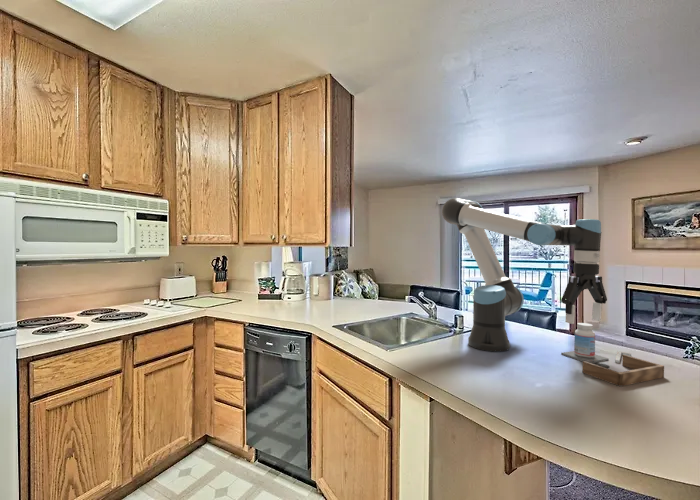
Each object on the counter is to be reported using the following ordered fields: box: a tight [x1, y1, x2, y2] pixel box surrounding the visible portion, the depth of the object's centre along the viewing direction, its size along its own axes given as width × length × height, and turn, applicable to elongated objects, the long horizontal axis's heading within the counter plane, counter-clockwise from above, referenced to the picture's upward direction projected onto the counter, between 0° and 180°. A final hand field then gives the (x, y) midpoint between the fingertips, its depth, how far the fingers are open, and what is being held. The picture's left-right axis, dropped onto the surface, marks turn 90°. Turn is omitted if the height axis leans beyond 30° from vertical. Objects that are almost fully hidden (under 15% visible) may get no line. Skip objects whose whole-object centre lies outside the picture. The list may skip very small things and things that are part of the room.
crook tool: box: [614, 350, 632, 364], centre depth 120 cm, size 4×13×1 cm, turn 139°
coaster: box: [560, 350, 610, 364], centre depth 122 cm, size 10×10×1 cm
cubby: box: [581, 355, 665, 387], centre depth 106 cm, size 20×11×4 cm, turn 110°
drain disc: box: [594, 362, 610, 369], centre depth 113 cm, size 4×4×1 cm
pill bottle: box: [573, 322, 596, 358], centre depth 122 cm, size 6×6×11 cm
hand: (583, 321), depth 122 cm, fingers open, 13 cm apart
